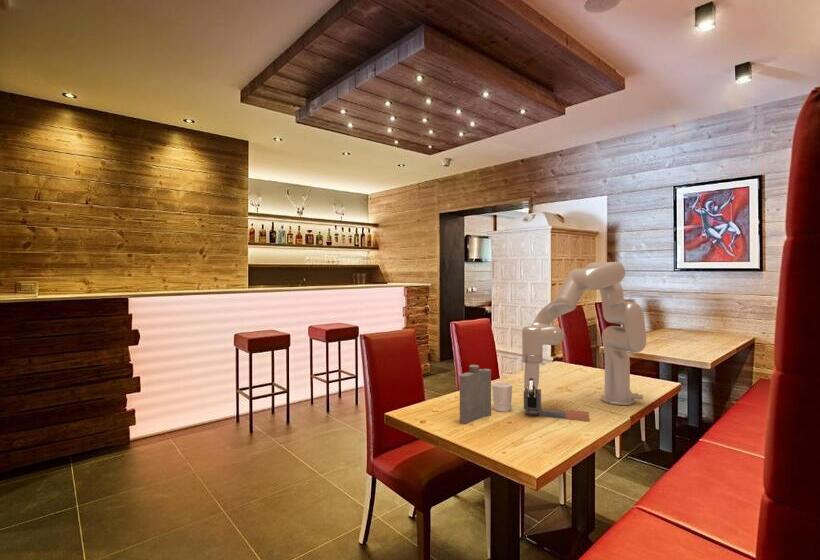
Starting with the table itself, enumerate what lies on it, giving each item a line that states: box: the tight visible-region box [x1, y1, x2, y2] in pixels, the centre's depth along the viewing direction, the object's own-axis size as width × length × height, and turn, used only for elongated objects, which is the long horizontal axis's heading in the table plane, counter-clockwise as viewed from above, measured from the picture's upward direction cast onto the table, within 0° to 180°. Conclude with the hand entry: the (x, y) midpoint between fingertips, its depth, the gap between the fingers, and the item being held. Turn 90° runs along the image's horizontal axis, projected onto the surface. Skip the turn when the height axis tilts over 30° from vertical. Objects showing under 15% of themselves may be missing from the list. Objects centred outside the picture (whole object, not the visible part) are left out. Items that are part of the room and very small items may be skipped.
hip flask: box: [458, 364, 492, 425], centre depth 157 cm, size 16×4×20 cm, turn 129°
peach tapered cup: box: [491, 381, 513, 412], centre depth 168 cm, size 8×8×10 cm
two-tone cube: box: [523, 388, 542, 411], centre depth 161 cm, size 6×6×6 cm
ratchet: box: [524, 407, 590, 422], centre depth 158 cm, size 23×6×6 cm, turn 69°
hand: (532, 404), depth 161 cm, fingers closed on two-tone cube, 5 cm apart
